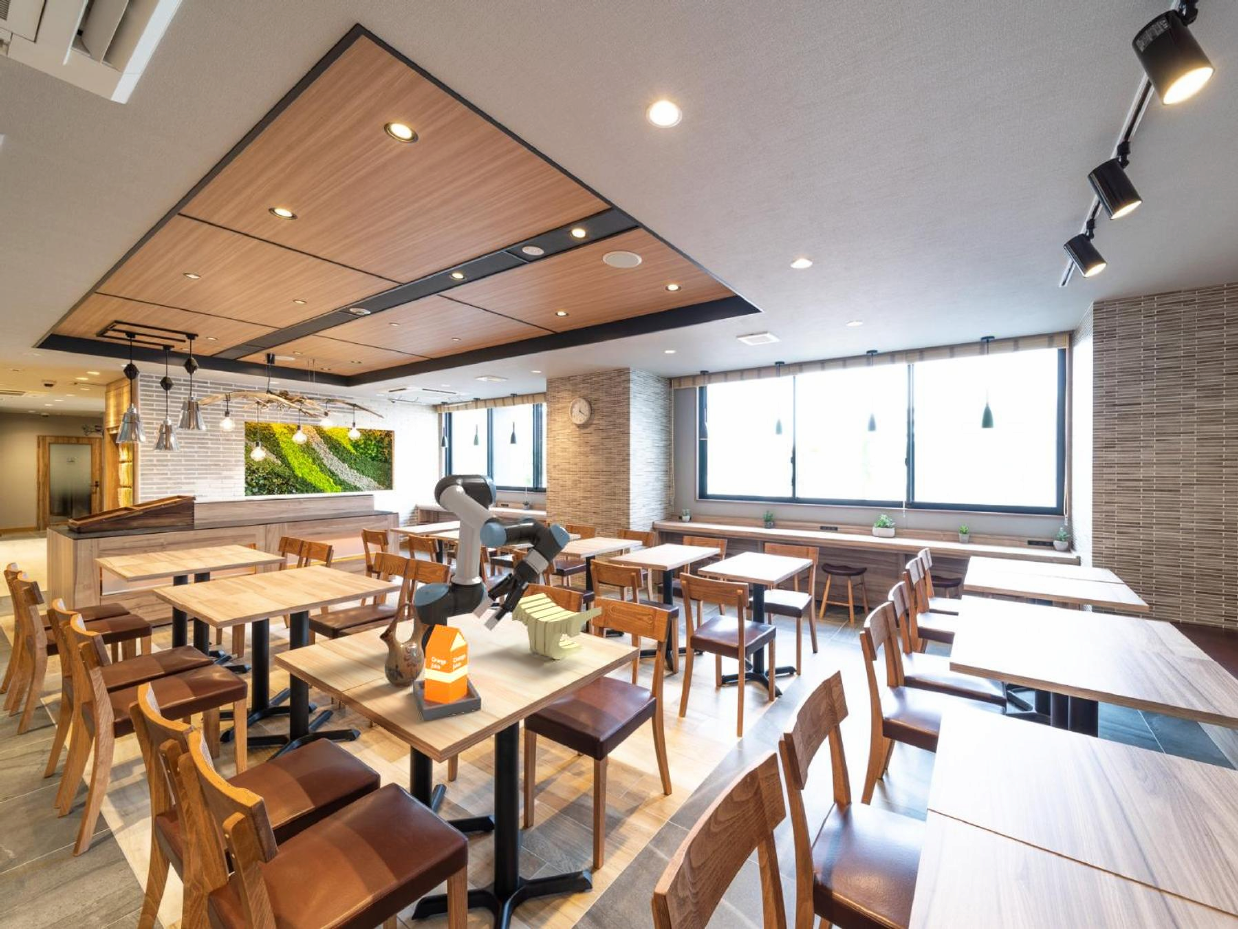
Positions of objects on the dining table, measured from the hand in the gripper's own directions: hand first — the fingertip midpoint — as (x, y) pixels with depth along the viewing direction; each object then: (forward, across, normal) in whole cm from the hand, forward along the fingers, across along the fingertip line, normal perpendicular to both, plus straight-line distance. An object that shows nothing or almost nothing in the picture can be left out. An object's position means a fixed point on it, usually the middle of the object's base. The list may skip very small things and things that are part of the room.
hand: (481, 621), depth 150 cm
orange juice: (+21, 0, -8) cm, 23 cm away
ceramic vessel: (+28, +17, -2) cm, 33 cm away
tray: (+22, 0, -8) cm, 23 cm away
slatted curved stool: (-8, +23, -39) cm, 46 cm away
